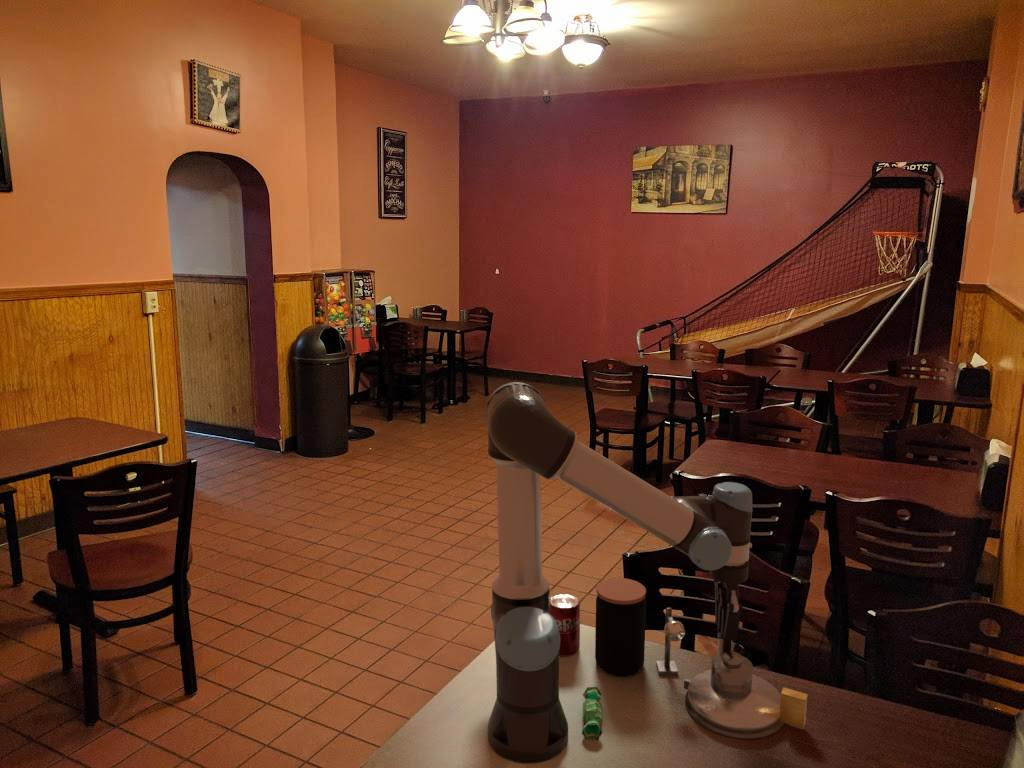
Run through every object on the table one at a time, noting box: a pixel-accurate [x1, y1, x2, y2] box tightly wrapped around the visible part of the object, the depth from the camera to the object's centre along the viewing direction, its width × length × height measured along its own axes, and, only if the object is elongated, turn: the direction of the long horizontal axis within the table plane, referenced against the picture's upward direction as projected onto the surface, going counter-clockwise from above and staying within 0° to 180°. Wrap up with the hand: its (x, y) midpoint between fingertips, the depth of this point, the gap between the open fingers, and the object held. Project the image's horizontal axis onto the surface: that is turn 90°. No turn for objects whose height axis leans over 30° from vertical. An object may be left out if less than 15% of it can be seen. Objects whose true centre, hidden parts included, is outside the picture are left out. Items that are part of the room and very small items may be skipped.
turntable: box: [683, 669, 809, 733], centre depth 146 cm, size 21×18×6 cm
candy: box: [581, 686, 603, 741], centre depth 144 cm, size 12×3×4 cm
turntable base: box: [684, 690, 785, 741], centre depth 147 cm, size 19×19×1 cm
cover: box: [710, 651, 754, 698], centre depth 149 cm, size 8×8×7 cm
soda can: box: [550, 593, 581, 658], centre depth 167 cm, size 7×7×12 cm
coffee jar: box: [594, 577, 647, 678], centre depth 161 cm, size 11×11×18 cm
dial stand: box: [655, 606, 686, 677], centre depth 156 cm, size 4×9×15 cm, turn 178°
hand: (724, 663), depth 155 cm, fingers closed
